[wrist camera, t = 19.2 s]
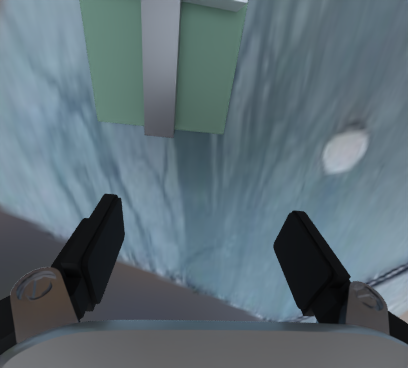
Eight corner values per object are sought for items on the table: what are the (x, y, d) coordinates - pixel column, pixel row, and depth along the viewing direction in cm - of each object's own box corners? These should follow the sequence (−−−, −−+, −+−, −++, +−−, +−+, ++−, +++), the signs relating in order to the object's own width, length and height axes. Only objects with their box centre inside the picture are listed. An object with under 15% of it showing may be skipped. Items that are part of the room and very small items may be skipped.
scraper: (240, -9, 19) (255, -27, 15) (217, 129, 26) (222, 143, 22) (86, -41, 17) (53, -72, 13) (106, 116, 24) (89, 129, 20)
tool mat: (259, -65, 18) (260, -67, 17) (222, 133, 27) (223, 134, 27) (64, -113, 15) (61, -117, 15) (99, 120, 25) (97, 121, 25)
